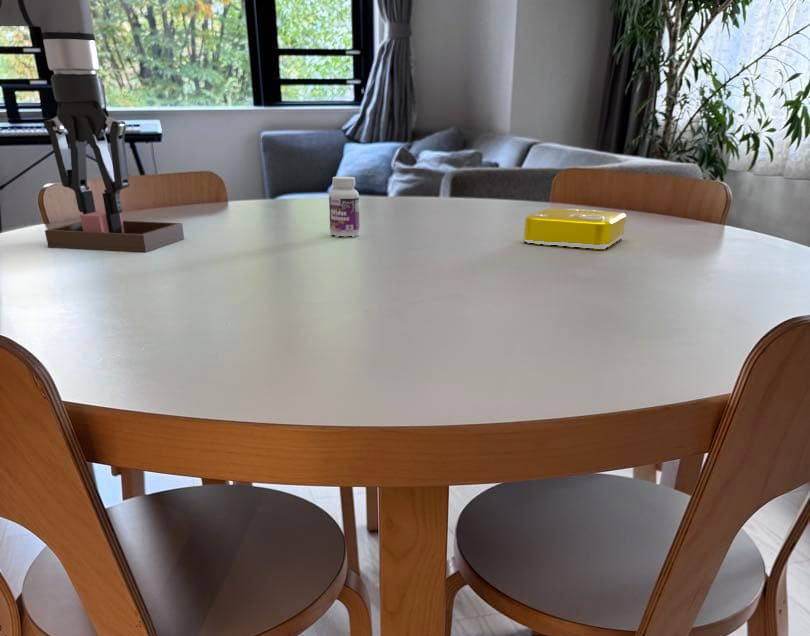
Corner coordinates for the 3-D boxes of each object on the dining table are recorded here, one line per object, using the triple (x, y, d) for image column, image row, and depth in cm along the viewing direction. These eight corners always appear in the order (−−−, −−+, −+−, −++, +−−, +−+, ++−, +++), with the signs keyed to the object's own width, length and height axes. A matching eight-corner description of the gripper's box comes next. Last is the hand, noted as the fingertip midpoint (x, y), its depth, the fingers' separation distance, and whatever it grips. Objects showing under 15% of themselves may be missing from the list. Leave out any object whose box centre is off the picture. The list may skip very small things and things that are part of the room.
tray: (48, 247, 124) (44, 230, 123) (93, 234, 136) (91, 219, 134) (145, 252, 121) (143, 235, 120) (184, 238, 132) (182, 223, 131)
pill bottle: (328, 237, 135) (325, 178, 130) (332, 232, 140) (330, 175, 135) (357, 238, 135) (356, 178, 130) (361, 233, 139) (360, 176, 135)
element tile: (624, 238, 137) (629, 210, 135) (605, 251, 126) (610, 220, 123) (545, 232, 143) (548, 204, 141) (520, 243, 131) (522, 214, 129)
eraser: (103, 238, 126) (99, 216, 124) (83, 237, 127) (79, 215, 125) (125, 232, 132) (121, 210, 130) (106, 231, 133) (102, 210, 131)
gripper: (136, 74, 119) (159, 232, 131) (42, 73, 122) (73, 228, 134) (111, 73, 113) (137, 239, 125) (12, 72, 116) (48, 234, 128)
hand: (104, 233), depth 129 cm, fingers closed on eraser, 4 cm apart
